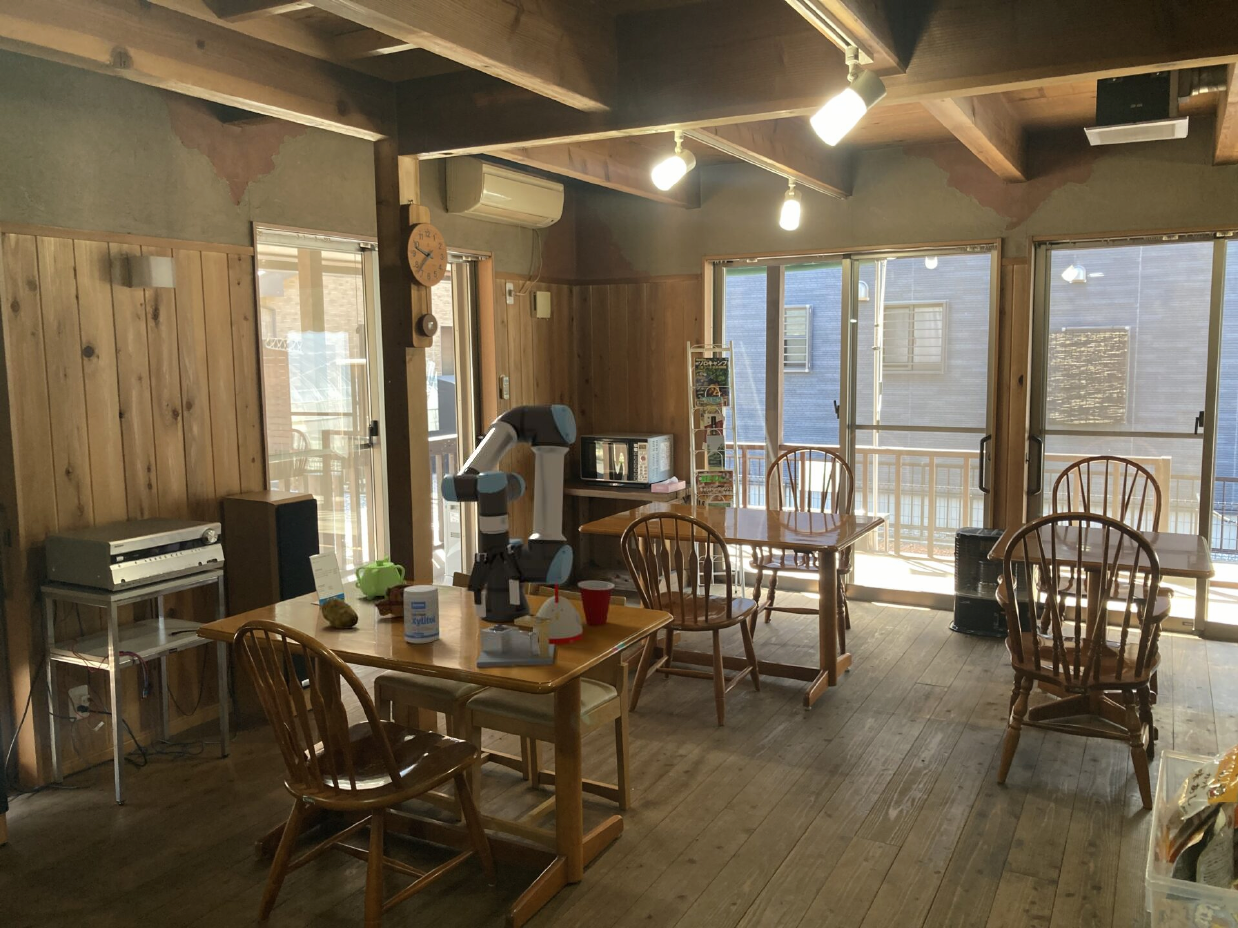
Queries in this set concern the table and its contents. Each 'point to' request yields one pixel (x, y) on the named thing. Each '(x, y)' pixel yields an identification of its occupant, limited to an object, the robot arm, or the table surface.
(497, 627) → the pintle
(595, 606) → the plastic cup
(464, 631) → the table surface
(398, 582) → the green lidded pot
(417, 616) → the supplement tub
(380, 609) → the wooden carving
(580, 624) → the kitchen timer
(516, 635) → the link
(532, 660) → the board
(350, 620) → the potato
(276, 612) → the table surface
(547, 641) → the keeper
